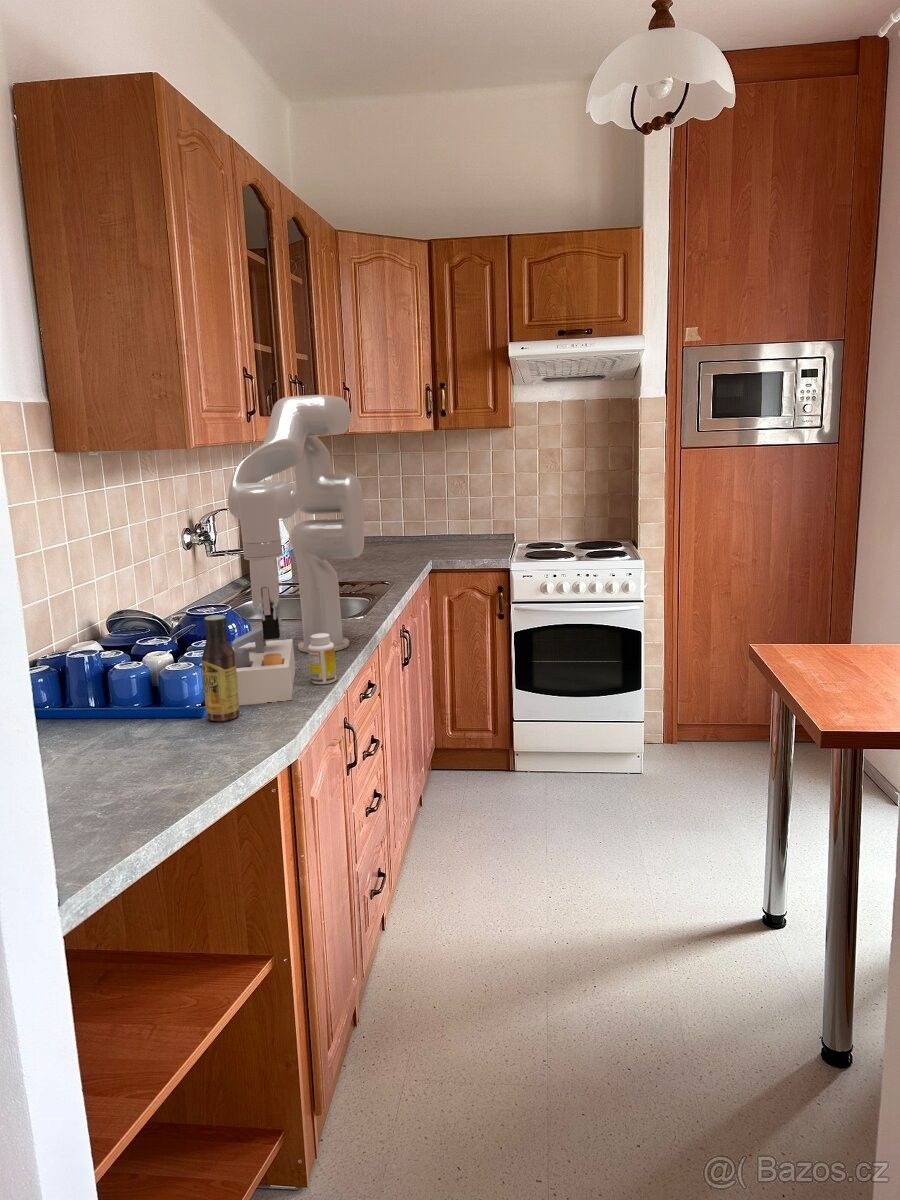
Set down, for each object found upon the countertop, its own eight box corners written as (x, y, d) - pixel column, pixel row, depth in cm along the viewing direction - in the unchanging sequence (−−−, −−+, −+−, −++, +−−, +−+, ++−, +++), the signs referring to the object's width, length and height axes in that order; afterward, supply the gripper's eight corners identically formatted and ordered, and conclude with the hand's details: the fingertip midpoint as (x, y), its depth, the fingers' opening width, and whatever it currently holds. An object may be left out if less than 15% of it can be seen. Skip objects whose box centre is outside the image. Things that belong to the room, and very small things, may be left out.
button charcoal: (235, 684, 183) (231, 649, 181) (252, 682, 183) (249, 647, 182) (233, 689, 179) (229, 653, 178) (251, 687, 180) (247, 652, 178)
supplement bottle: (337, 676, 193) (333, 631, 191) (336, 684, 188) (332, 637, 186) (311, 678, 193) (307, 633, 191) (310, 686, 187) (306, 639, 185)
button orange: (267, 689, 184) (264, 654, 182) (285, 687, 184) (281, 652, 183) (266, 694, 180) (262, 658, 179) (284, 692, 181) (280, 657, 179)
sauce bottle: (201, 718, 170) (190, 617, 166) (231, 710, 174) (221, 611, 170) (216, 725, 165) (205, 622, 161) (247, 717, 169) (236, 615, 165)
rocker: (239, 648, 194) (234, 639, 194) (284, 625, 195) (279, 616, 194) (237, 654, 189) (231, 645, 188) (283, 631, 189) (278, 622, 189)
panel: (236, 673, 200) (232, 628, 198) (295, 668, 201) (291, 624, 199) (225, 706, 176) (220, 655, 174) (291, 700, 178) (286, 650, 176)
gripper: (246, 545, 183) (256, 630, 188) (240, 557, 169) (250, 649, 173) (283, 542, 184) (291, 627, 188) (280, 554, 170) (289, 646, 174)
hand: (272, 637), depth 181 cm, fingers closed
